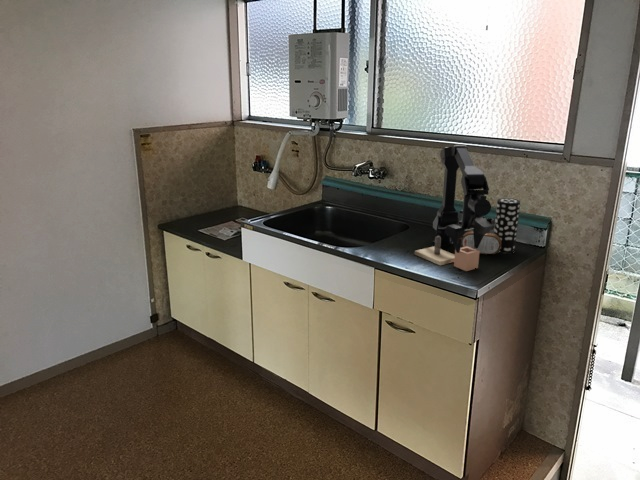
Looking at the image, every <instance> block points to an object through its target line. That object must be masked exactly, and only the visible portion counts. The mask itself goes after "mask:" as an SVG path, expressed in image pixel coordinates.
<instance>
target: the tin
mask: <svg viewBox="0 0 640 480" xmlns="http://www.w3.org/2000/svg"><path fill="white" fill-rule="evenodd" d="M463 236H465V237H464V238H463V239H462V240H461V248H462V247H467V246H468V247H470V248H473V249H476V250H478V251H480V253H479V255H480V254H481V255H487V254H493V255H495V254H497V253H499V252H498V251H499V250H500V248H501V239H500V238H499V236H497V235H496V234H494V232H489V233H486V234H485V235H484V237H483V238H482V240H481V243H480V245H479V247H478V248H475V245H474V235H473V230H468V231H465V234H464V235H463Z"/></svg>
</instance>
